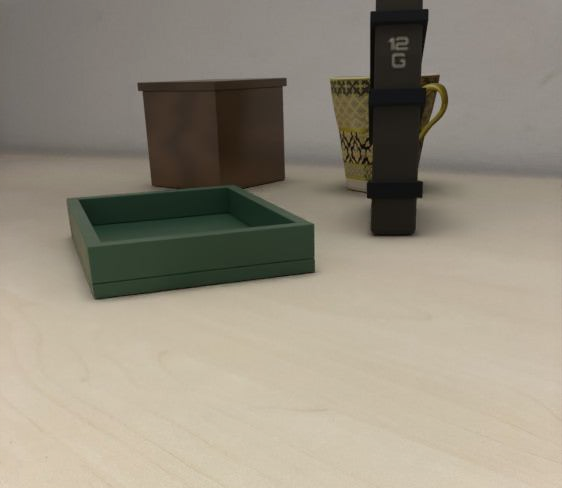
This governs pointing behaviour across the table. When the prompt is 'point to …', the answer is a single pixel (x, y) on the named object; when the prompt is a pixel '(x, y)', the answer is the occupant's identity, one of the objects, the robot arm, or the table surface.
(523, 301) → the table surface
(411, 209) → the magazine
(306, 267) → the tray
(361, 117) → the ceramic cup
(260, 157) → the stand
